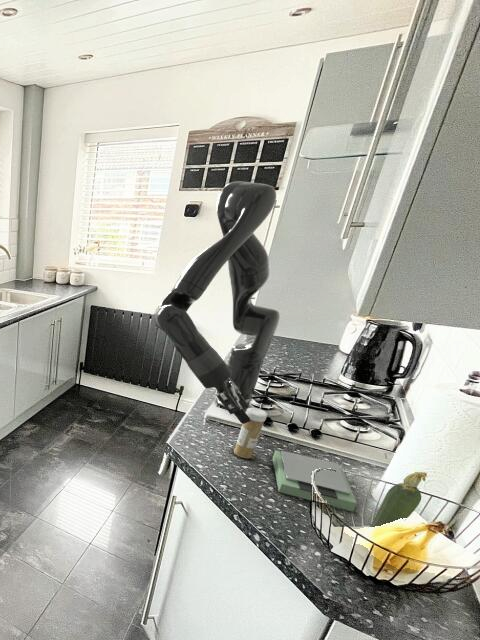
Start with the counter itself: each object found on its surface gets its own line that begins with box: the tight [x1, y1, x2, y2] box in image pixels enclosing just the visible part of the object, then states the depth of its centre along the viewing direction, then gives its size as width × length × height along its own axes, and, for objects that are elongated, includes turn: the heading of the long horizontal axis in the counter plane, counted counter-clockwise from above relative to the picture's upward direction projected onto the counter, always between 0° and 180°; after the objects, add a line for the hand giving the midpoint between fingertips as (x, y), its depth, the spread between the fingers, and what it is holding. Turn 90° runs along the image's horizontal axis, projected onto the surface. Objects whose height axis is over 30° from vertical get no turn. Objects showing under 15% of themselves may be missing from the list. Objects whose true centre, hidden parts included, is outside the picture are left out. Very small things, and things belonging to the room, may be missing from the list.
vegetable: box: [368, 471, 429, 528], centre depth 80 cm, size 4×4×20 cm
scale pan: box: [279, 450, 350, 496], centre depth 104 cm, size 13×12×1 cm
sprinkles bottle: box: [233, 407, 268, 459], centre depth 112 cm, size 5×5×14 cm
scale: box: [272, 450, 358, 512], centre depth 103 cm, size 16×14×3 cm
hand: (246, 414), depth 111 cm, fingers open, 8 cm apart
